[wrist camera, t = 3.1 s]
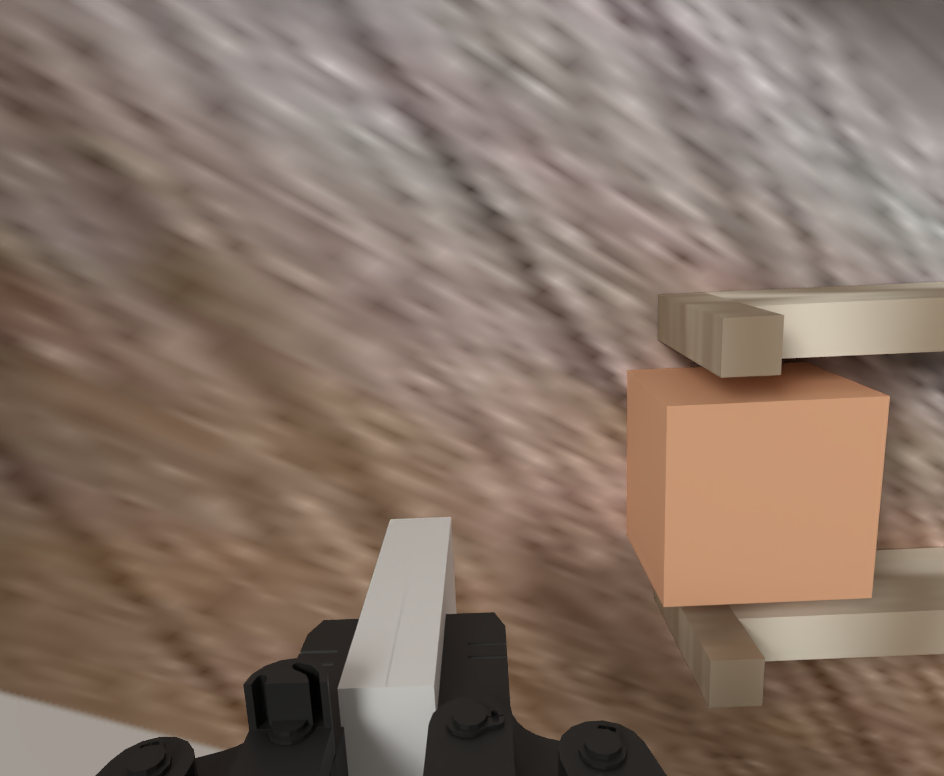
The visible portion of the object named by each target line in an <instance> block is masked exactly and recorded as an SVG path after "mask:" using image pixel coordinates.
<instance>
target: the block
mask: <svg viewBox="0 0 944 776" xmlns="http://www.w3.org/2000/svg"><path fill="white" fill-rule="evenodd" d="M889 401H890V396H888V395H886V394H883V393H881V392H878V391H876V390H873V389H871V388H868V387H866V386H864V385H861V384H859V383H856V382H854V381H851V380H849V379H846V378H844V377H841V376H839V375H836V374H834V373H831V372H829V371H826V370H824V369H821V368H819V367H816V366H814V365H811V364H809V363H806V362H795V363H782V364H781V375H769V376H746V377H724V378H721V377H719V376H717V375H716V374H714V373H712V372H711V371H709V370H707V369H706V368H704V367H686V368H665V369H643V370H627V537H628V538H629V540H630V542H631V544H632V546H633V548H634V550H635V552H636V554H637V556H638V558H639V560H640V562H641V564H642V566H643V568H644V570H645V572H646V574H647V576H648V578H649V580H650V582H651V584H652V585H653V587H654V589H655V591H656V593H657V595H658V597H659V599H660V601H661V603H662V605H663V607H678V606H700V605H723V604H746V603H769V602H792V601H815V600H838V599H860V598H872V589H873V578H874V567H875V555H876V544H877V533H878V522H879V511H880V500H881V489H882V478H883V467H884V456H885V445H886V434H887V423H888V412H889Z"/></svg>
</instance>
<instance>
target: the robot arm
mask: <svg viewBox="0 0 944 776" xmlns="http://www.w3.org/2000/svg"><path fill="white" fill-rule="evenodd" d="M244 693H245V700H246V708H247V716H248V723H249V733H248V735H247V737H246V739H245V741H244V743H242V744H240V745H239V746H236V747H233V748H230V749H228V750H225V751H221V752H217V753H214V754H210V755H206V756H202V757H198V758H195V755H194V749H193V748H192V747H191V745H190V744H189V743H188V741H185V740H183V739H180V738H177V737H158V738H154V739H150V740H146V741H142V742H140V743H138V744H136V745H134V746H132V747H130V748H128V749H125V750H124V751H123V752H122V753H120V754H119V755H117V756H116V757H115V758H114V759H112V760H111V761H110V762H109V763H108V764H107V765H106V766H105V767H104V768H103V769H102V770H101V771H100V772H99V773H98V774H97V775H96V776H667V775H666V774H665V772H664V771H663V769H662V768H661V766H660V765H659V763H658V762H657V760H656V759H655V757H654V756H653V754H652V753H651V751H650V750H649V748H648V747H647V746H646V744H645V743H644V741H643V740H642V739H641V738H640V737H639V736H638V735H637V734H636V733H635V732H634V731H632V730H630V729H628V728H626V727H624V726H622V725H620V724H616V723H611V722H606V721H588V722H584V723H581V724H578V725H576V726H573V727H571V728H570V729H569V730H568V731H567V732H566V733H565V734H563V735H562V737H561V740H560V741H557V740H552V739H548V738H545V737H541V736H538V735H535V734H533V733H532V732H530V731H528V730H526V729H525V728H523V727H522V726H521V725H520V724H519V723H518V722H517V721H516V719H515V718H514V716H513V715H512V711H511V707H510V695H509V679H508V663H507V648H506V632H505V625H504V624H503V623H502V622H501V620H500V619H499V618H498V617H497V615H496V614H495V613H465V614H456V597H455V579H454V561H453V542H452V524H451V517H437V518H410V519H390V522H389V525H388V528H387V532H386V535H385V538H384V541H383V544H382V548H381V551H380V554H379V557H378V560H377V564H376V567H375V570H374V573H373V576H372V580H371V583H370V586H369V589H368V592H367V596H366V599H365V602H364V605H363V608H362V612H361V615H360V618H359V619H345V620H323V621H322V622H321V623H320V624H319V625H318V626H317V627H316V628H314V629H313V630H312V631H311V632H310V633H309V634H308V635H307V637H306V640H305V642H304V644H303V647H302V649H301V654H299V656H298V658H294V659H287V660H281V661H278V662H275V663H272V664H269V665H267V666H264V667H263V668H261V669H260V670H258V671H257V672H255V673H253V674H252V675H251V676H250V677H249V679H248V680H247V681H246V682H245V683H244Z"/></svg>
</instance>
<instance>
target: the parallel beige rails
mask: <svg viewBox="0 0 944 776" xmlns="http://www.w3.org/2000/svg"><path fill="white" fill-rule="evenodd" d="M658 340H659V341H661V342H663V343H664V344H666V345H668V346H669V347H671V348H672V349H674V350H676V351H677V352H679V353H681V354H682V355H684V356H686V357H687V358H689V359H691V360H692V361H694V362H696V363H697V364H699V365H701V366H702V367H704V368H706V369H707V370H709V371H711V372H712V373H714V374H716V375H717V376H719V377H721V378H724V377H746V376H769V375H781V364H782V359H784V358H806V357H828V356H851V355H873V354H895V353H918V352H940V351H944V282H924V283H902V284H880V285H858V286H836V287H814V288H792V289H770V290H748V291H726V292H704V293H682V294H660V295H658ZM654 599H655V601H656V603H657V605H658V607H659V609H660V611H661V613H662V615H663V617H664V619H665V621H666V623H667V625H668V627H669V629H670V631H671V633H672V635H673V637H674V639H675V641H676V643H677V645H678V647H679V649H680V651H681V653H682V655H683V657H684V659H685V661H686V663H687V665H688V667H689V669H690V671H691V673H692V675H693V677H694V679H695V681H696V683H697V685H698V687H699V689H700V691H701V693H702V695H703V697H704V699H705V701H706V703H707V705H708V707H709V708H723V707H747V706H762V704H763V686H764V669H765V661H785V660H808V659H832V658H855V657H879V656H903V655H926V654H944V547H939V548H916V549H893V550H876V555H875V567H874V578H873V589H872V598H860V599H838V600H815V601H792V602H769V603H746V604H723V605H700V606H678V607H663V605H662V603H661V601H660V599H659V597H658V595H657V593H656V591H655V589H654Z"/></svg>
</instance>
